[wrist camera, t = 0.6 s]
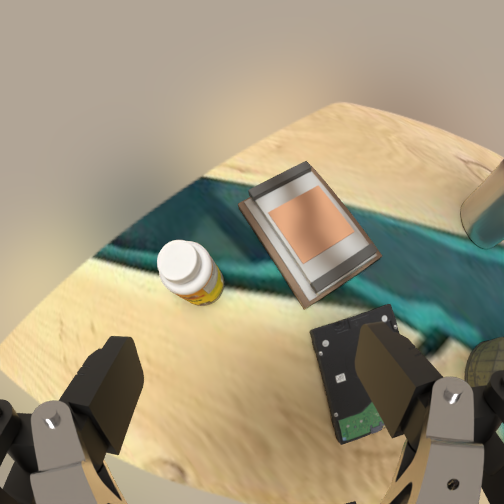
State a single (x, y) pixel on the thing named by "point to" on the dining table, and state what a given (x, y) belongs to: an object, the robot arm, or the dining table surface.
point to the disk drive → (348, 374)
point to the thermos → (485, 362)
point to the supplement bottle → (190, 272)
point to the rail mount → (308, 232)
